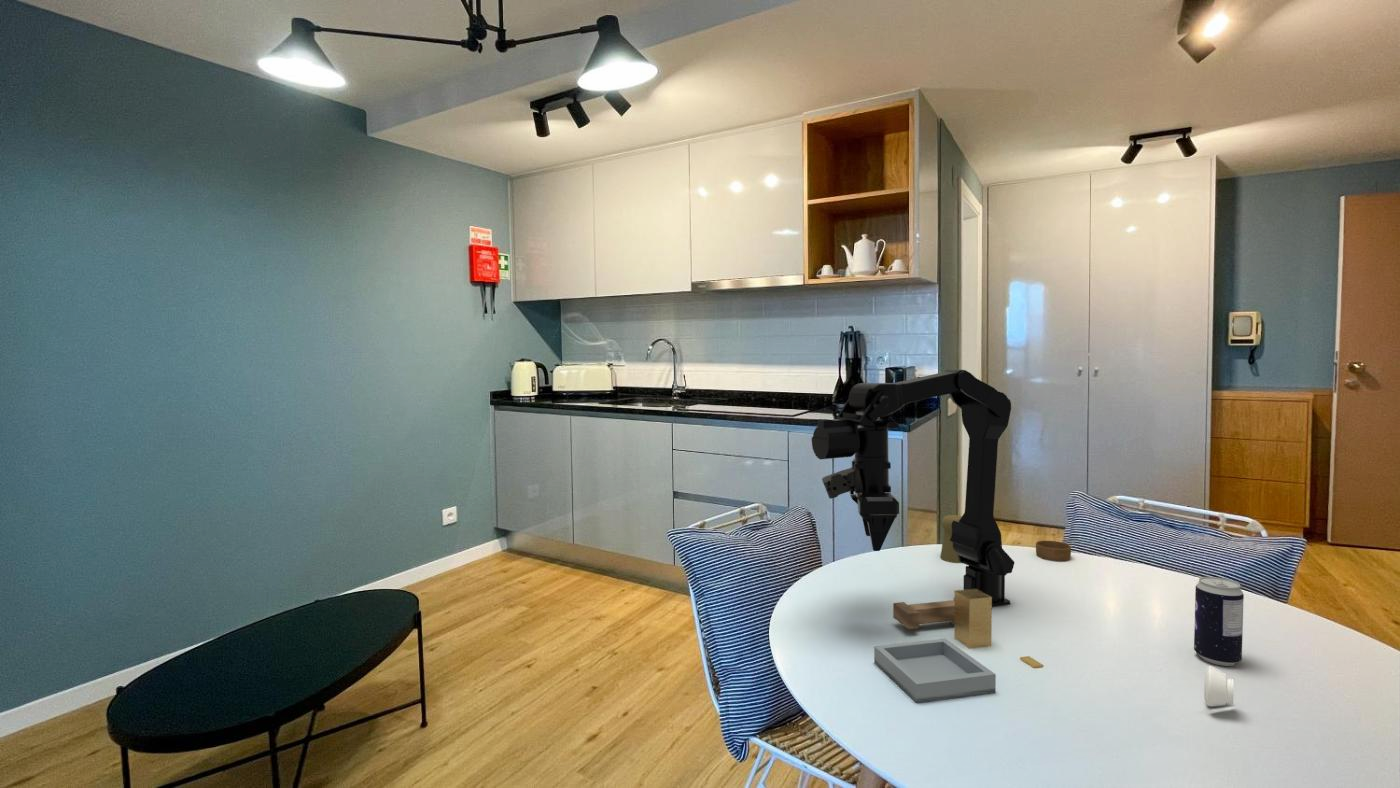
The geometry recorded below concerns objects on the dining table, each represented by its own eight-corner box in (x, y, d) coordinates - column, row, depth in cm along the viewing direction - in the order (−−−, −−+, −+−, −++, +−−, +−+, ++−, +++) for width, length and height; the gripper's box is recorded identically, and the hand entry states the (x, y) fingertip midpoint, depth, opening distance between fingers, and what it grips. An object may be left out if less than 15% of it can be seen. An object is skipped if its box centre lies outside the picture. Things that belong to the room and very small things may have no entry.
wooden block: (975, 635, 108) (976, 588, 107) (991, 645, 104) (991, 597, 103) (954, 638, 107) (954, 590, 107) (969, 648, 103) (969, 599, 103)
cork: (963, 560, 148) (963, 513, 148) (971, 568, 142) (972, 519, 142) (936, 559, 149) (936, 512, 149) (943, 568, 143) (944, 519, 143)
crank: (972, 610, 116) (972, 594, 116) (990, 621, 111) (990, 605, 111) (893, 618, 113) (893, 602, 113) (908, 629, 108) (908, 613, 108)
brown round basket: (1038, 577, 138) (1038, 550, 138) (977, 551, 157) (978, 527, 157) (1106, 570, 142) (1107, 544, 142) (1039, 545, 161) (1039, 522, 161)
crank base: (973, 614, 117) (973, 610, 117) (1057, 665, 97) (1057, 660, 97) (941, 617, 115) (941, 613, 115) (1019, 669, 96) (1019, 665, 96)
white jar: (1204, 695, 88) (1205, 659, 88) (1232, 702, 86) (1233, 665, 86) (1203, 711, 84) (1204, 673, 84) (1233, 718, 82) (1234, 680, 82)
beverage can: (1231, 654, 100) (1233, 577, 99) (1248, 670, 95) (1251, 590, 94) (1187, 649, 102) (1189, 574, 101) (1202, 665, 97) (1204, 586, 96)
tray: (945, 654, 101) (945, 638, 101) (995, 692, 89) (995, 674, 89) (874, 662, 98) (874, 646, 98) (916, 703, 87) (916, 684, 87)
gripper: (821, 448, 123) (822, 528, 124) (828, 464, 105) (830, 558, 106) (881, 447, 122) (882, 529, 123) (899, 463, 103) (900, 559, 104)
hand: (872, 543), depth 114 cm, fingers open, 9 cm apart
